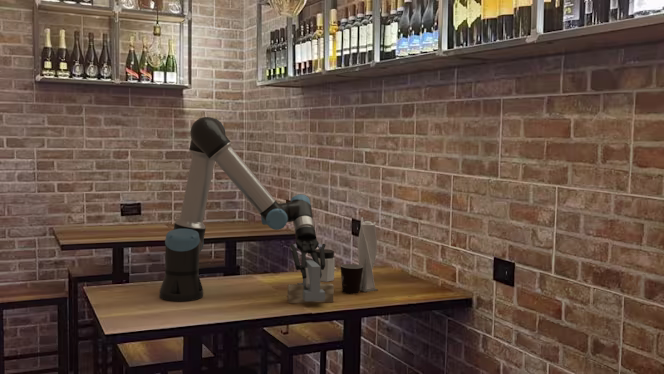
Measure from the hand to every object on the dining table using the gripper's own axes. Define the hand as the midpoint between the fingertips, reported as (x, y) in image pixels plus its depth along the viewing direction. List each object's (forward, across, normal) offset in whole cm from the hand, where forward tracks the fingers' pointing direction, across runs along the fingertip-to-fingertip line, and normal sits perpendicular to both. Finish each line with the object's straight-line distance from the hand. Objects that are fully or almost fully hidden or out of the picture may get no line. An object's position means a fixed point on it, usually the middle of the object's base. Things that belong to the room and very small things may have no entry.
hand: (313, 285), depth 224 cm
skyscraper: (-9, -26, -19) cm, 33 cm away
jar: (-22, -13, -31) cm, 40 cm away
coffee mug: (-7, -19, -17) cm, 27 cm away
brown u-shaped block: (+2, 0, -8) cm, 8 cm away
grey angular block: (+1, 0, -6) cm, 6 cm away
